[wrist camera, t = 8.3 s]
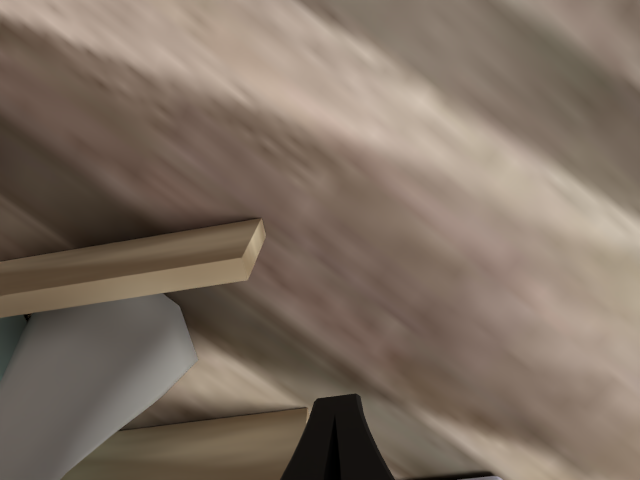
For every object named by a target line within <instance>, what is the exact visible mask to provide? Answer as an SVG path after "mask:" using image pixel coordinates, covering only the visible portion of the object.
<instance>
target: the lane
mask: <svg viewBox="0 0 640 480" xmlns="http://www.w3.org/2000/svg"><path fill="white" fill-rule="evenodd" d="M265 238H266V234H265V230H264V226H263V222H262V218H260V219H254V220H248V221H241V222H235V223H229V224H223V225H217V226H211V227H205V228H199V229H193V230H187V231H181V232H175V233H169V234H163V235H157V236H151V237H145V238H139V239H133V240H127V241H121V242H115V243H109V244H103V245H97V246H91V247H85V248H79V249H73V250H67V251H61V252H55V253H49V254H43V255H37V256H31V257H25V258H19V259H13V260H7V261H1V262H0V318H3V317H10V316H16V315H23V314H29V313H36V312H42V311H49V310H55V309H62V308H68V307H75V306H81V305H88V304H94V303H101V302H107V301H114V300H120V299H127V298H133V297H140V296H146V295H153V294H160V293H166V292H173V291H179V290H186V289H192V288H199V287H205V286H212V285H218V284H225V283H231V282H238V281H244V280H248V278H249V276H250V274H251V271H252V269H253V266H254V264H255V262H256V259H257V257H258V254H259V252H260V250H261V247H262V245H263V242H264V240H265ZM308 419H309V412H308V408H302V409H294V410H285V411H277V412H269V413H261V414H253V415H245V416H237V417H229V418H221V419H212V420H204V421H196V422H188V423H180V424H172V425H164V426H156V427H148V428H139V429H131V430H123V431H117V432H115V433H114V434H113V435H112V436H111V437H109V438H108V439H107V440H106V441H104V442H103V443H102V444H101V445H100V446H98V447H97V448H96V449H95V450H94V451H92V452H91V453H90V454H89V455H88V456H86V457H85V458H84V459H83V460H81V461H80V462H79V463H78V464H77V465H75V466H74V467H73V468H72V469H71V470H69V471H68V472H67V473H66V474H65V475H64V476H63V477H62V478H61V479H60V480H280V478H281V477H282V475H283V473H284V471H285V469H286V467H287V465H288V463H289V462H290V460H291V458H292V456H293V454H294V451H295V449H296V447H297V445H298V443H299V440H300V438H301V436H302V434H303V431H304V429H305V427H306V424H307V422H308Z"/></svg>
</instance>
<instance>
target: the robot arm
mask: <svg viewBox="0 0 640 480" xmlns="http://www.w3.org/2000/svg"><path fill="white" fill-rule="evenodd" d="M280 480H395V479H394V477H393V476H392V474H391V472H390V470H389V469H388V467H387V465H386V463H385V461H384V459H383V458H382V456H381V454H380V452H379V450H378V448H377V445H376V443H375V441H374V439H373V437H372V435H371V432H370V430H369V427H368V425H367V422H366V419H365V416H364V413H363V408H362V402H361V397H360V396H359V395H358V394H349V395H341V396H333V397H326V398H318V399H316V401H315V402H314V405H313V408H312V411H311V414H310V416H309V419H308V422H307V424H306V427H305V429H304V431H303V434H302V436H301V438H300V440H299V443H298V445H297V447H296V449H295V451H294V454H293V456H292V458H291V460H290V462H289V463H288V465H287V467H286V469H285V471H284V473H283V475H282V477H281V478H280ZM459 480H502V479H501V478H500V477H497V476H488V477H479V478H469V479H459Z"/></svg>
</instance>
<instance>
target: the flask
mask: <svg viewBox="0 0 640 480" xmlns="http://www.w3.org/2000/svg"><path fill="white" fill-rule="evenodd" d="M197 361H198V358H197V355H196V352H195V349H194V346H193V343H192V341H191V338H190V335H189V332H188V329H187V326H186V323H185V320H184V318H183V315H182V312H181V309H180V306H179V305H177V304H176V303H175V302H173V301H172V300H171V299H169V298H168V297H167V296H165V295H164V294H163V293H160V294H153V295H146V296H140V297H133V298H127V299H120V300H114V301H107V302H101V303H94V304H88V305H81V306H75V307H68V308H62V309H55V310H49V311H42V312H36V313H33V314H32V315H31V316H30V318H29V320H28V322H27V324H26V326H25V328H24V330H23V332H22V334H21V336H20V339H19V341H18V343H17V345H16V348H15V350H14V352H13V355H12V357H11V359H10V361H9V364H8V366H7V368H6V371H5V373H4V375H3V377H2V379H1V381H0V480H60V479H61V478H62V477H63V476H64V475H65V474H66V473H67V472H68V471H69V470H71V469H72V468H73V467H74V466H75V465H77V464H78V463H79V462H80V461H81V460H83V459H84V458H85V457H86V456H88V455H89V454H90V453H91V452H92V451H94V450H95V449H96V448H97V447H98V446H100V445H101V444H102V443H103V442H104V441H106V440H107V439H108V438H109V437H111V436H112V435H113V434H114V433H115V432H117V431H118V430H119V429H121V428H122V427H123V426H125V425H126V424H127V423H129V422H130V421H131V420H132V419H134V418H135V417H136V416H138V415H139V414H140V413H142V412H143V411H144V410H146V409H147V408H148V407H150V406H151V405H152V404H153V403H155V402H156V401H157V400H158V399H159V398H161V397H162V396H163V395H164V394H165V393H166V392H167V391H168V390H169V389H170V388H171V387H172V386H173V385H174V384H175V383H176V382H177V381H178V380H179V379H180V378H181V377H182V376H183V375H184V374H185V373H186V372H187V371H188V370H189V369H190V368H191V367H192V366H193V365H194V364H195V363H196V362H197Z"/></svg>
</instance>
